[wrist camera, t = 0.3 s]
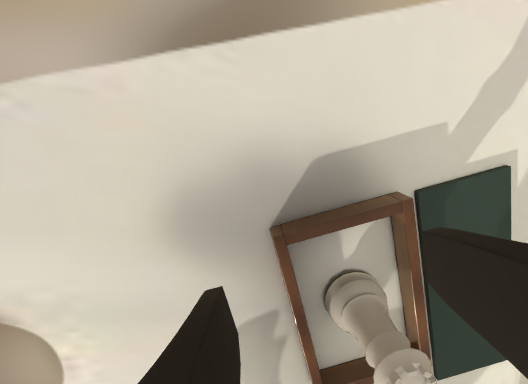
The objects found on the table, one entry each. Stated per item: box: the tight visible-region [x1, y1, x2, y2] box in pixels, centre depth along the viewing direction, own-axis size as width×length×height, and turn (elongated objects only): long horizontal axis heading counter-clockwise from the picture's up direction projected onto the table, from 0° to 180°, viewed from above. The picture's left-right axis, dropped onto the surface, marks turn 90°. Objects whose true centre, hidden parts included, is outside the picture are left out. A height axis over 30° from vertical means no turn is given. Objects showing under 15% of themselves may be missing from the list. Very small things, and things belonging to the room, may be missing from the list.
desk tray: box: [270, 192, 431, 384], centre depth 21 cm, size 15×10×2 cm, turn 15°
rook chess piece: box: [325, 272, 437, 384], centre depth 18 cm, size 4×4×8 cm
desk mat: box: [415, 165, 511, 380], centre depth 22 cm, size 18×7×1 cm, turn 15°
